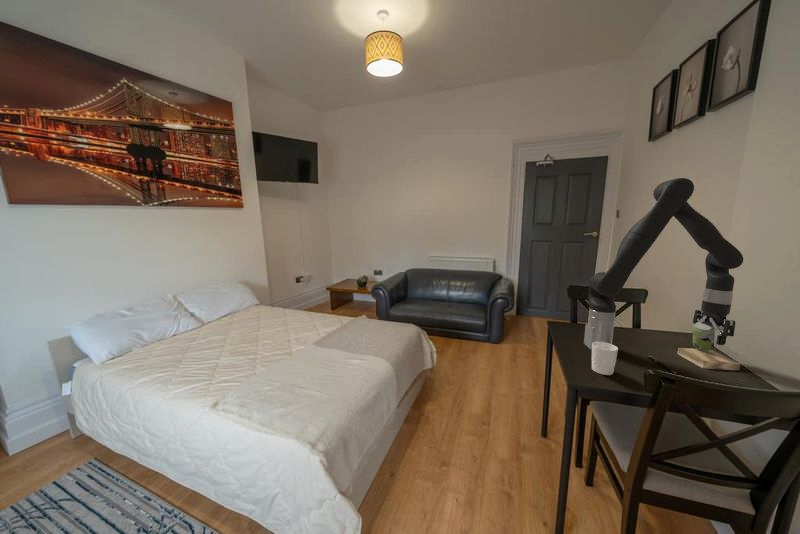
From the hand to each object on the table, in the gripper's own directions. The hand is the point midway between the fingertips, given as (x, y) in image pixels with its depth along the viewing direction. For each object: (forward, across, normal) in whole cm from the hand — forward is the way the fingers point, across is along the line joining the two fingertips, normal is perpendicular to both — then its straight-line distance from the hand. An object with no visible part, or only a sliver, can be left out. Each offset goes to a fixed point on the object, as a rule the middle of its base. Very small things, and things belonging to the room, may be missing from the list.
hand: (709, 340), depth 111 cm
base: (+9, 0, 0) cm, 9 cm away
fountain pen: (+10, +6, -20) cm, 23 cm away
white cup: (+10, +13, -45) cm, 48 cm away
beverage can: (+5, -5, +2) cm, 8 cm away
